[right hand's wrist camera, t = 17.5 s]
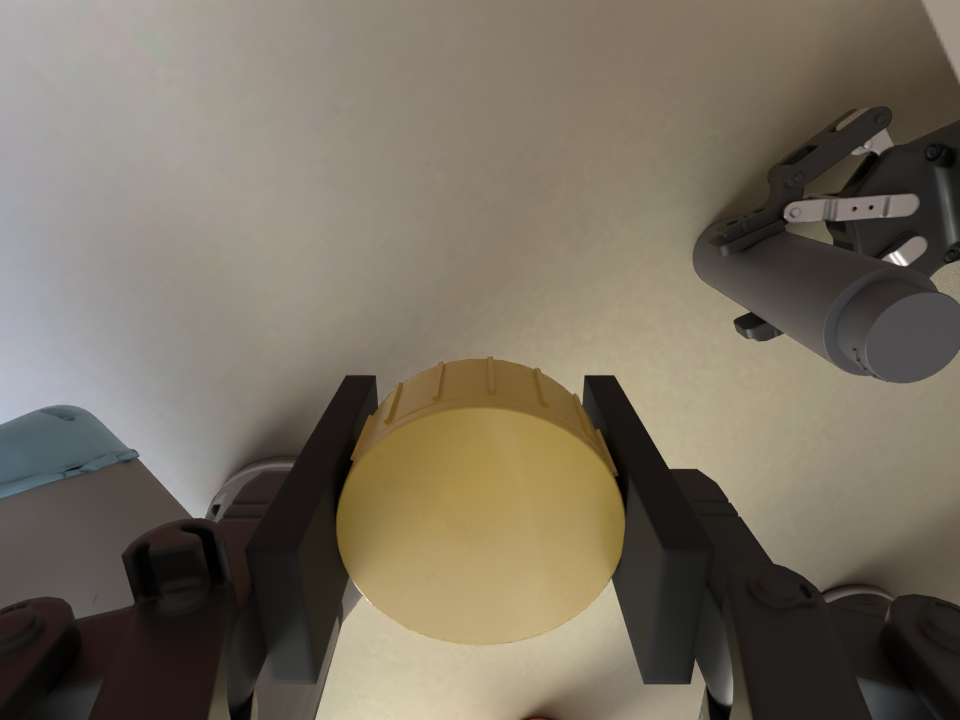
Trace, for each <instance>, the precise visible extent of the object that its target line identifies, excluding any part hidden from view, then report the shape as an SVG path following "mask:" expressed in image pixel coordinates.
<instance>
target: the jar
mask: <svg viewBox="0 0 960 720" xmlns="http://www.w3.org/2000/svg"><path fill="white" fill-rule="evenodd" d="M732 219H734V218H726V219H723V220H720V221H718V222H716V223H714V224H712V225H711V226H709V227H708V228H707V229H706V230H705V231H704V232H703V233H702V234H701V236H700V237H699V239H698V241H697V242H696V245H695V248H694V252H693V264H694V268H695V271H696V273H697V274H698V276H699V277H700V278H701V279H702V280H703V281H704V282H705V283H707V284H708V285H710V286H712V287H713V288H715V289H716V290H718V291H719V292H721V293H722V294H724V295H726V296H727V297H729V298H730V299H732V300H733V301H735V302H737V303H738V304H740V305H741V306H743V307H744V308H746V309H748V310H749V311H751V312H752V313H754V314H755V315H757V316H758V317H760V318H762V319H763V320H765V321H766V322H768V323H769V324H771V325H773V326H774V327H776V328H777V329H779V330H780V331H782V332H784V333H785V334H787V335H788V336H790V337H791V338H793V339H795V340H796V341H798V342H799V343H801V344H802V345H804V346H805V347H807V348H809V349H810V350H812V351H813V352H815V353H816V354H818V355H820V356H821V357H823V358H824V359H826V360H827V361H829V362H831V363H832V364H834V365H835V366H837V367H838V368H840V369H842V370H843V371H845V372H848V373H851V374H855V375H861V376H872V377H874V378H877V379H880V380H884V381H886V382H893V383H911V382H916V381H920V380H923V379H926V378H928V377H930V376H932V375H934V374H935V373H937V372H939V371H940V370H941V369H943V368H944V367H945V366H946V365H947V364H948V363H949V362H950V361H951V360H952V359H953V358H954V357H955V355H956V354H957V353H958V351H959V349H960V305H959V303H958V302H957V301H956V300H954V299H953V298H951V297H950V296H948V295H946V294H943V293H940V292H938V290H937V288H936V286H935V285H934V283H933V282H932V281H931V280H930V279H929V278H928V277H927V276H926V275H924V274H922V273H921V272H919V271H916V270H914V269H911V268H907V267H904V266H901V265H897V264H894V263H890V262H887V261H884V260H880V259H877V258H873V257H870V256H867V255H863V254H860V253H857V252H853V251H850V250H846V249H843V248H840V247H836V246H833V245H830V244H826V243H823V242H819V241H816V240H813V239H809V238H806V237H803V236H799V235H796V234H792V233H789V232H786V231H783V232H781V233H778V234H776V235H774V236H771V237H769V238H766V239H765V240H762V241H760V242H758V243H756V244H753V245H751V246H749V247H747V248H744V249H742V250H740V251H738V252H735V253H733V254H731V255H728V256H724V257H720V256H717V255H715V254H713V253H711V250H710V247H709V244H708V241H709V240H710V239H712V238H714V237H716V233H715V230H716V229H717V228H718V227H719V226H720V225H721V224H723V223H725V222H727V221H729V220H732Z"/></svg>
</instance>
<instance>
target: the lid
mask: <svg viewBox="0 0 960 720" xmlns="http://www.w3.org/2000/svg"><path fill="white" fill-rule="evenodd" d="M351 460H353V463H352V466H351V468H350V471H349V473H348V476H347V478H346V481H345V483H344V486H343V489H342V492H341V495H340V497H339V501H338V507H337V512H336V536H337V543H338V549H339V552H340V555H341V558H342V561H343V564H344V566H345V568H346V570H347V572H348V574H349V576H350V578H351V579H352V581H353V582H354V584H355V585H356V587H357V588H358V590H359V591H360V592H361V593H362V594H363V596H364V597H365V598H366V599H367V600H368V601H369V602H370V603H371V604H372V605H373V606H374V607H376V608H377V609H378V610H379V611H380V612H381V613H383V614H384V615H386V616H387V617H388V618H390V619H391V620H393V621H394V622H396V623H398V624H400V625H402V626H404V627H405V628H407V629H409V630H412V631H414V632H417V633H419V634H422V635H424V636H427V637H431V638H434V639H438V640H441V641H447V642H452V643H458V644H470V645H494V644H503V643H511V642H515V641H520V640H524V639H528V638H531V637H534V636H537V635H540V634H543V633H545V632H548V631H550V630H552V629H554V628H556V627H559V626H560V625H562V624H564V623H565V622H567V621H569V620H570V619H572V618H573V617H575V616H576V615H577V614H579V613H580V612H581V611H583V610H584V609H585V608H586V607H587V606H588V605H590V604H591V603H592V602H593V601H594V600H595V599H596V598H597V597H598V595H599V594H600V593H601V592H602V590H603V589H604V588H605V587H606V585H607V584H608V582H609V581H610V579H611V577H612V575H613V574H614V572H615V570H616V568H617V565H618V563H619V560H620V558H621V555H622V549H623V541H624V532H625V522H626V515H625V507H624V503H623V499H622V494H621V492H620V489H619V487H618V484H617V482H616V479H615V477H616V476H619V475H618V472H617V470H616V467H615V465H614V462H613V460H612V458H611V455H610V453H609V451H608V448H607V446H606V444H605V441H604V439H603V436H602V434H601V432H600V429H597V430H595V428H594V426H593V423H592V421H591V419H590V418H589V416H588V414H587V413H586V411H585V409H584V408H583V407H582V405H581V402H580V400H579V397H578V396H577V395H576V394H573V395H572V394H571V393H570V392H568V391H567V390H566V389H565V388H564V387H563V386H562V385H560V384H559V383H557V382H556V381H554V380H553V379H552V378H550V377H548V376H546V375H544V374H542V373H541V370H540V369H539V368H535V370H534V369H532V368H529V367H526V366H523V365H520V364H517V363H512V362H508V361H503V360H493V357H488V358H487V359H467V360H460V361H453V362H449V363H445V364H444V362H439V363H438V366H435V367H433V368H430V369H428V370H425V371H423V372H421V373H419V374H417V375H415V376H414V377H412V378H410V379H409V380H407V381H405V382H404V383H403V384H401V383H400V382H399V383H398V384H396V387H395V389H394V391H393V392H392V393H391V394H390V395H389V396H388V397H387V398H386V399H385V400H384V401H383V402H382V404H381V405H380V406H379V408H378V409H377V410H376V412H375V413H374V415H373V416H371V415H369V416H368V418H367V420H366V423H365V425H364V427H363V430H362V432H361V435H360V437H359V439H358V442H357V444H356V447H355V449H354V452H353V454H352V456H351Z"/></svg>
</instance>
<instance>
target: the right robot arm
mask: <svg viewBox="0 0 960 720" xmlns="http://www.w3.org/2000/svg"><path fill="white" fill-rule="evenodd" d="M582 407H583V408H584V409H585V411H586V413H587V414H588V416H589V418H590V419H591V421H592V423H593V426H594V428H595V430H597V429H600V432H601V434H602V436H603V439H604V441H605V444H606V446H607V448H608V451H609V453H610V455H611V458H612V460H613V462H614V465H615V467H616V470H617V472H618V475H619V476H616V477H615V479H616V482H617V484H618V487H619V489H620V492H621V494H622V499H623V503H624V507H625V515H626V522H625V532H624V541H623V549H622V555H621V558H620V560H619V563H618V565H617V568H616V570H615V572H614V574H613V575H612V577H611V578H612V581H613V584H614V588H615V591H616V594H617V597H618V601H619V604H620V607H621V611H622V614H623V617H624V620H625V624H626V627H627V630H628V634H629V637H630V640H631V643H632V647H633V650H634V653H635V657H636V660H637V663H638V666H639V670H640V673H641V676H642V680H643V683H644V684H690V683H691V678H692V673H693V667H694V662H695V659H696V661H697V663H698V666H699V668H700V671H701V673H702V675H703V678H704V680H705V682H706V686H705V691H704V696H703V701H702V705H701V710H700V715H699V720H960V606H958V605H956V604H953V603H950V602H947V601H945V600H941V599H938V598H936V597H930V596H924V595H917V594H911V595H904V596H899V597H897V598H896V599H895V600H894V601H893V602H891V603H890V606H889V609H888V612H887V615H886V617H883V616H879V615H875V614H870V613H866V612H862V611H857V610H853V609H849V608H844V607H840V606H837V605H834V604H830V603H827V602H826V601H825V599H824V598H823V596H822V595H821V593H820V592H819V590H818V589H817V588H816V587H815V586H814V585H813V584H812V583H810V582H809V581H808V580H807V579H805V578H804V577H803V576H802V575H800V574H798V573H796V572H794V571H792V570H790V569H788V568H786V567H783V566H780V565H776V564H773V562H772V561H771V559H770V558H769V557H768V555H767V554H766V552H765V551H764V550H763V548H762V547H761V545H760V544H759V542H758V541H757V540H756V538H755V537H754V535H753V534H752V532H751V531H750V530H749V528H748V527H747V525H746V524H745V523H744V521H743V520H742V518H741V517H738V513H737V511H736V510H735V508H734V507H733V505H732V504H731V503H729V502H728V498H727V497H726V496H725V494H724V493H723V491H722V490H721V488H720V487H719V486H718V484H717V483H716V482H714V481H713V480H712V479H710V478H709V477H707V476H706V475H705V474H703V473H702V472H700V471H699V470H698V469H669V468H668V466H667V465H666V463H665V461H664V460H663V458H662V456H661V455H660V453H659V451H658V449H657V448H656V446H655V444H654V443H653V441H652V439H651V437H650V436H649V434H648V432H647V431H646V429H645V427H644V425H643V424H642V422H641V420H640V419H639V417H638V415H637V414H636V412H635V410H634V408H633V407H632V405H631V403H630V402H629V400H628V398H627V396H626V395H625V393H624V391H623V390H622V388H621V386H620V385H619V383H618V381H617V379H616V378H615V376H614V375H585V377H584V391H583V404H582ZM377 409H378V400H377V386H376V375H346V377H345V378H344V380H343V382H342V383H341V385H340V387H339V389H338V390H337V392H336V394H335V395H334V397H333V399H332V401H331V402H330V404H329V406H328V407H327V409H326V411H325V412H324V414H323V416H322V418H321V419H320V421H319V423H318V424H317V426H316V428H315V430H314V431H313V433H312V435H311V436H310V438H309V440H308V441H307V443H306V445H305V447H304V448H303V450H302V452H301V453H300V455H299V457H275V458H269V459H265V460H261V461H258V462H255V463H253V464H250V465H248V466H246V467H244V468H243V469H241V470H240V471H238V472H237V473H235V474H234V475H233V476H232V477H231V478H230V479H229V480H228V481H227V482H226V483H225V484H224V486H223V487H222V488H221V490H220V491H219V492H218V493H217V495H216V496H215V497H214V499H213V501H212V502H211V504H210V506H209V509H208V511H207V514H206V517H205V519H202V518H193V517H192V516H191V515H190V514H189V513H188V512H187V511H186V510H185V509H184V508H183V507H182V505H181V504H180V503H179V502H178V501H177V500H176V499H175V498H174V497H173V496H172V495H171V494H170V493H169V491H168V490H167V489H166V488H165V487H164V486H163V485H162V484H161V483H160V482H159V481H158V480H157V479H156V477H155V476H154V475H153V474H152V473H151V472H150V471H149V470H148V469H147V468H146V467H145V466H144V465H143V463H142V462H141V461H140V460H139V459H138V458H137V457H139V456H140V455H139V454H138V452H137V451H136V450H134V449H128V448H127V447H126V446H125V445H124V444H123V443H122V442H121V441H120V440H119V439H118V438H117V437H116V436H115V435H114V434H113V433H112V432H111V431H110V430H109V429H108V428H107V427H106V426H105V425H104V424H102V423H101V422H100V421H99V420H98V419H97V418H96V417H95V416H94V415H93V414H91V413H90V412H88V411H86V410H85V409H82V408H79V407H76V406H70V405H56V406H50V407H45V408H42V409H39V410H36V411H33V412H31V413H28V414H26V415H23V416H21V417H18V418H16V419H14V420H11V421H9V422H6V423H4V424H2V425H0V720H315V719H316V715H317V711H318V708H319V704H320V701H321V697H322V693H323V690H324V686H325V683H326V679H327V675H328V672H329V668H330V665H331V661H332V657H333V654H334V650H335V647H336V643H337V639H338V636H339V632H340V629H341V626H342V623H343V621H344V620H345V619H346V617H347V616H348V615H349V613H350V612H351V611H352V609H353V608H354V607H355V605H356V604H357V603H358V601H359V600H360V598H361V597H362V595H363V594H362V593H361V592H360V591H359V590H358V588H357V587H356V585H355V584H354V582H353V581H352V579H351V578H350V576H349V574H348V572H347V570H346V568H345V566H344V564H343V561H342V558H341V555H340V552H339V549H338V543H337V536H336V512H337V507H338V501H339V497H340V495H341V492H342V489H343V486H344V483H345V481H346V478H347V476H348V473H349V471H350V468H351V466H352V463H353V460H351V456H352V454H353V452H354V449H355V447H356V444H357V442H358V439H359V437H360V435H361V432H362V430H363V427H364V425H365V423H366V420H367V418H368V416H369V415H371V416H373V415H374V413H375V412H376V410H377Z"/></svg>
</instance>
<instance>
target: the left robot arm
mask: <svg viewBox="0 0 960 720" xmlns="http://www.w3.org/2000/svg"><path fill="white" fill-rule="evenodd" d="M891 119H892V112H891V110H890V109H889V108H887V107H873V108H862V109H853V110H850V111H848V112H847V113H845V114H844V115H843V116H841V117H840V118H839V119H837V120H836V121H835V122H833V123H832V124H830V125H829V126H828V127H826V128H825V129H824V130H822V131H821V132H819V133H818V134H817V135H815V136H814V137H813V138H811V139H810V140H809V141H807V142H806V143H804V144H803V145H802V146H800V147H799V148H798V149H796V150H795V151H794V152H792V153H791V154H789V155H788V156H787V157H785V158H784V159H783V160H781V161H780V162H779V163H777V164H776V165H774V166H773V167H772V168H771V169H770V170H769V172H768V175H767V179H768V182H769V183H770V184H771V186H770V195H769V198H768V200H767V201H766V203H765V204H763V205H762V206H760V207H758V208H756V209H754V210H752V211H749V212H747V213H745V214H743V215H741V216H739V217H736V218H734V219H732V220H729V221H727V222H725V223H723V224H721V225H720V226H719V227H718V228H717V229H716V230H715V233H716V237H714V238H712V239H710V240H709V241H708V244H709V247H710V250H711V253H713V254H715V255H717V256H720V257H724V256H728V255H731V254H733V253H735V252H738V251H740V250H742V249H744V248H747V247H749V246H751V245H753V244H756V243H758V242H760V241H762V240H765V239H766V238H769V237H771V236H774V235H776V234H778V233H781V232H783V231H785V227H784V225H786V224H788V223H804V222H815V221H825V222H826V226H827V229H828V231H829V232H830V234H831V235H832V237H833V246H836V247H840V248H843V249H846V250H850V251H853V252H857V253H860V254H863V255H867V256H870V257H873V258H877V259H880V260H884V261H887V262H890V263H894V264H897V265H901V266H904V267H907V268H911V269H914V270H916V271H919V272H921V273H922V274H924V275H926V276H927V277H928V278H930V277H931V276H932V275H933V274H934V273H935V272H936V271H937V270H939V269H940V268H941V267H943V266H944V265H946V264H949V263H952V262H956V261H959V260H960V120H958V121H956V122H954V123H952V124H949V125H947V126H945V127H943V128H940V129H938V130H936V131H934V132H932V133H929V134H927V135H925V136H923V137H920V138H918V139H916V140H914V141H912V142H910V143H908V144H905V145H894V143H893V141H892V139H891V137H890V135H889V133H888V131H887V129H886V127H887V126H888V125H889V124H890V122H891ZM864 153H867V154H868V155H867V157H866V158H865V159H864V160H863V162H862V163H861V164H860V166H859V167H858V168H857V170H856V171H855V172H854V174H853V175H852V176H851V178H850V179H849V180H848V182H847V183H846V184H845V186H844V187H843V189H842V190H841V191H835V192H823V193H812V194H804V195H803V190H804V186H805V185H806V184H808V183H809V182H811V181H812V180H813V179H815V178H816V177H818V176H819V175H820V174H822V173H823V172H825V171H826V170H827V169H829V168H830V167H832V166H833V165H834V164H836V163H837V162H839V161H840V160H841V159H843V158H844V157H846V156H847V155H856V156H858V155H862V154H864ZM734 324H735V328H736V331H737V332H738V333H739V334H741V335H742V336H744V337H745V338H747V339H753V338H754V339H755V340H757V341H767V340H770V339H772V338H774V337H777V336H779V335H781V334H784V332H782V331H780V330H779V329H777V328H776V327H774V326H773V325H771V324H769V323H768V322H766V321H765V320H763V319H762V318H760V317H758V316H757V315H755V314H754V313H752V312H750V313H748V314H745V315H743V316H740V317H738V318H736V319H735V320H734ZM822 596H823V598H824V599H825V601H826V602H827V603H830V604H834V605H837V606H840V607H844V608H849V609H853V610H857V611H862V612H866V613H870V614H875V615H879V616H883V617H886V615H887V612H888V609H889V606H890V603H891V602H893V601H894V598H893V597H892V596H891V595H889V594H888V593H887V592H885V591H883V590H881V589H879V588H876V587H872V586H866V585H853V586H846V587H841V588H838V589H834V590H832V591H829V592H827V593H825V594H823V595H822Z"/></svg>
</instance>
